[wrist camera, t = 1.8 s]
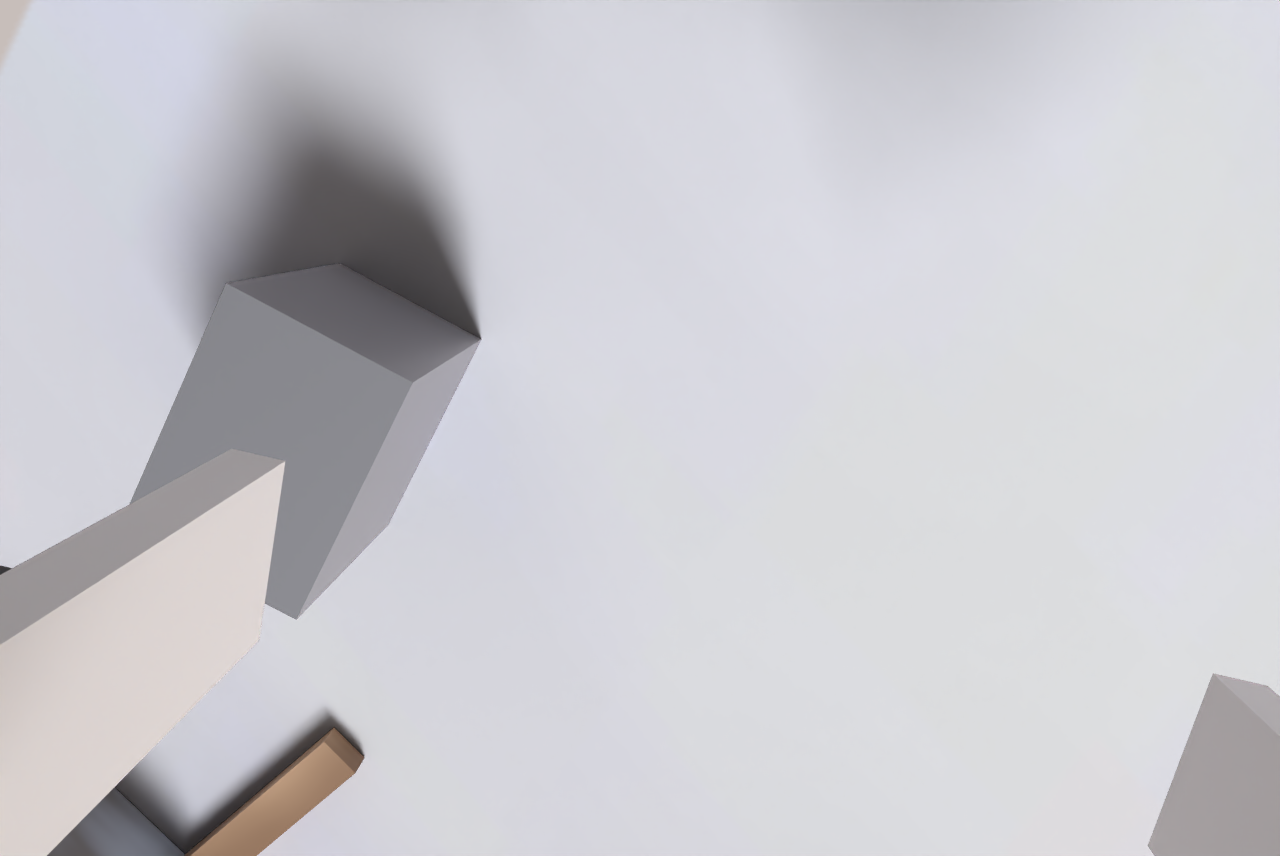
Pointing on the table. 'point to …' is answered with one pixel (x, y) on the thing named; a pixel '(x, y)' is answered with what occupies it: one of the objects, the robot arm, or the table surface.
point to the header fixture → (139, 852)
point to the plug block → (316, 410)
